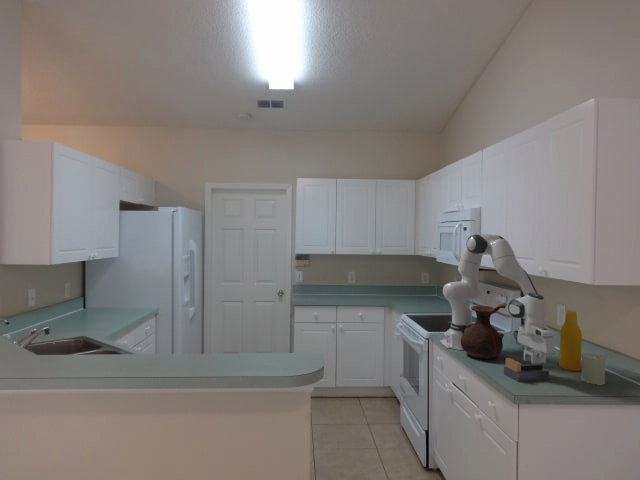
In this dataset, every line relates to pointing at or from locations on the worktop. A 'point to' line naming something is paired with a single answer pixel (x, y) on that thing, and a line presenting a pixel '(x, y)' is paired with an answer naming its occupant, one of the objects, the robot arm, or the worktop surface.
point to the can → (593, 369)
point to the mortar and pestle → (515, 335)
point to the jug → (483, 334)
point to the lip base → (525, 371)
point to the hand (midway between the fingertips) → (534, 357)
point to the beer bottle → (570, 343)
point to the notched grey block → (533, 356)
